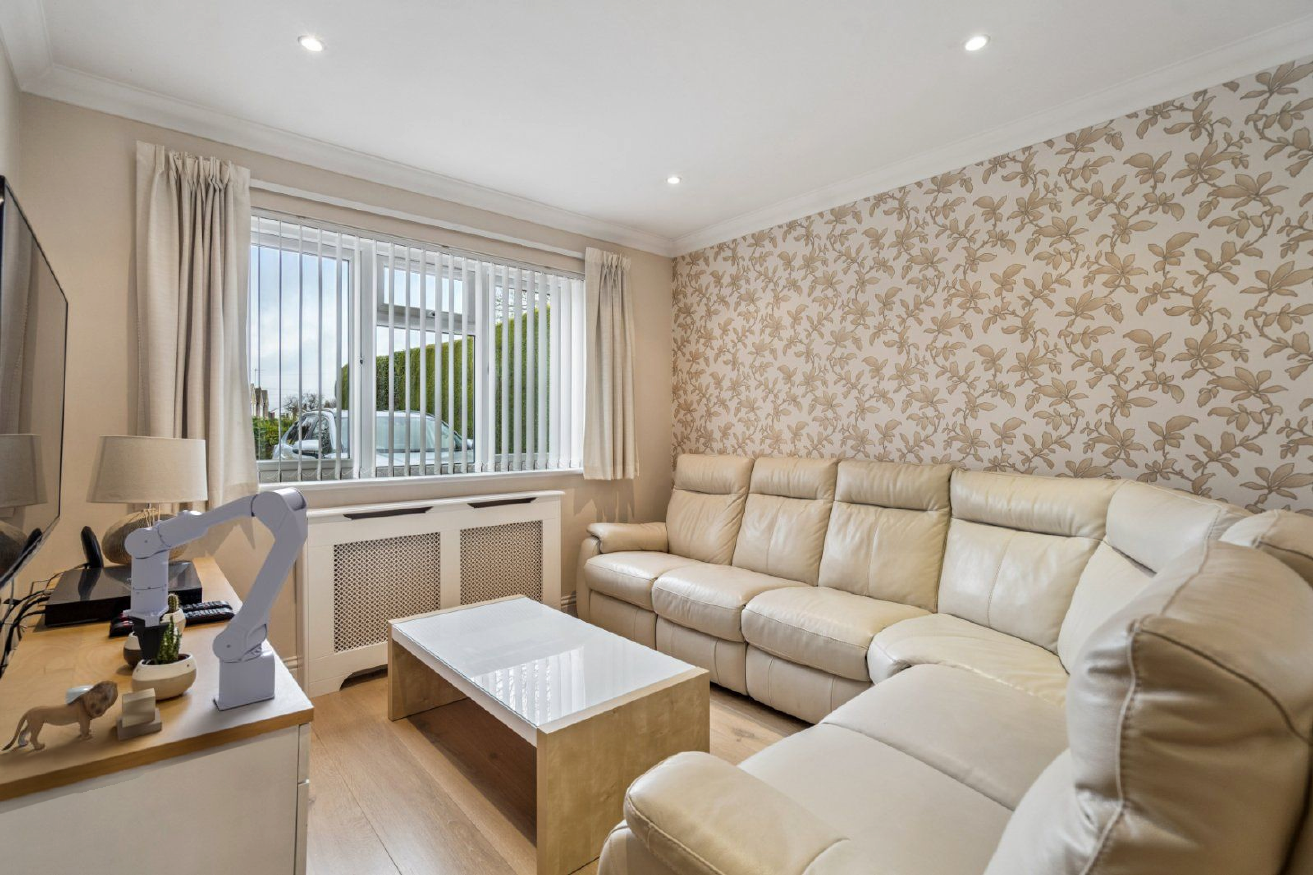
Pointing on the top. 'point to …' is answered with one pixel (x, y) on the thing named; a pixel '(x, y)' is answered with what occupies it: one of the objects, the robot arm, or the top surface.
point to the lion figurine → (67, 714)
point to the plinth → (138, 727)
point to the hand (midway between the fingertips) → (148, 653)
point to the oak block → (138, 707)
